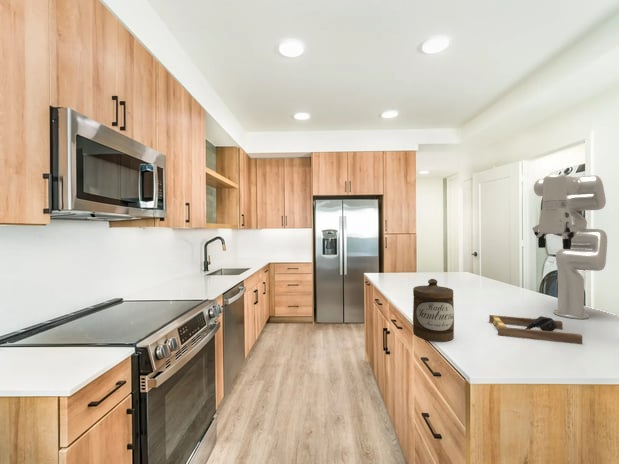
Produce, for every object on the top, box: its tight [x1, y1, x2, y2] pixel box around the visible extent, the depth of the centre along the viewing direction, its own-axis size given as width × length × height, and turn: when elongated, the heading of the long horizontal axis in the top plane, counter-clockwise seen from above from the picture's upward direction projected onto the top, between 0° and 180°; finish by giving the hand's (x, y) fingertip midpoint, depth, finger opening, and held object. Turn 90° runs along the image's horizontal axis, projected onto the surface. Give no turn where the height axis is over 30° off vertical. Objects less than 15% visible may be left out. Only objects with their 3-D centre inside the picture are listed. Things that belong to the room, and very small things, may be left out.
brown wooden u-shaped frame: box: [488, 314, 583, 345], centre depth 123 cm, size 18×26×3 cm
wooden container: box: [412, 278, 455, 343], centre depth 120 cm, size 15×15×22 cm
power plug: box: [524, 315, 557, 332], centre depth 122 cm, size 6×8×12 cm
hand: (553, 248), depth 123 cm, fingers open, 9 cm apart
